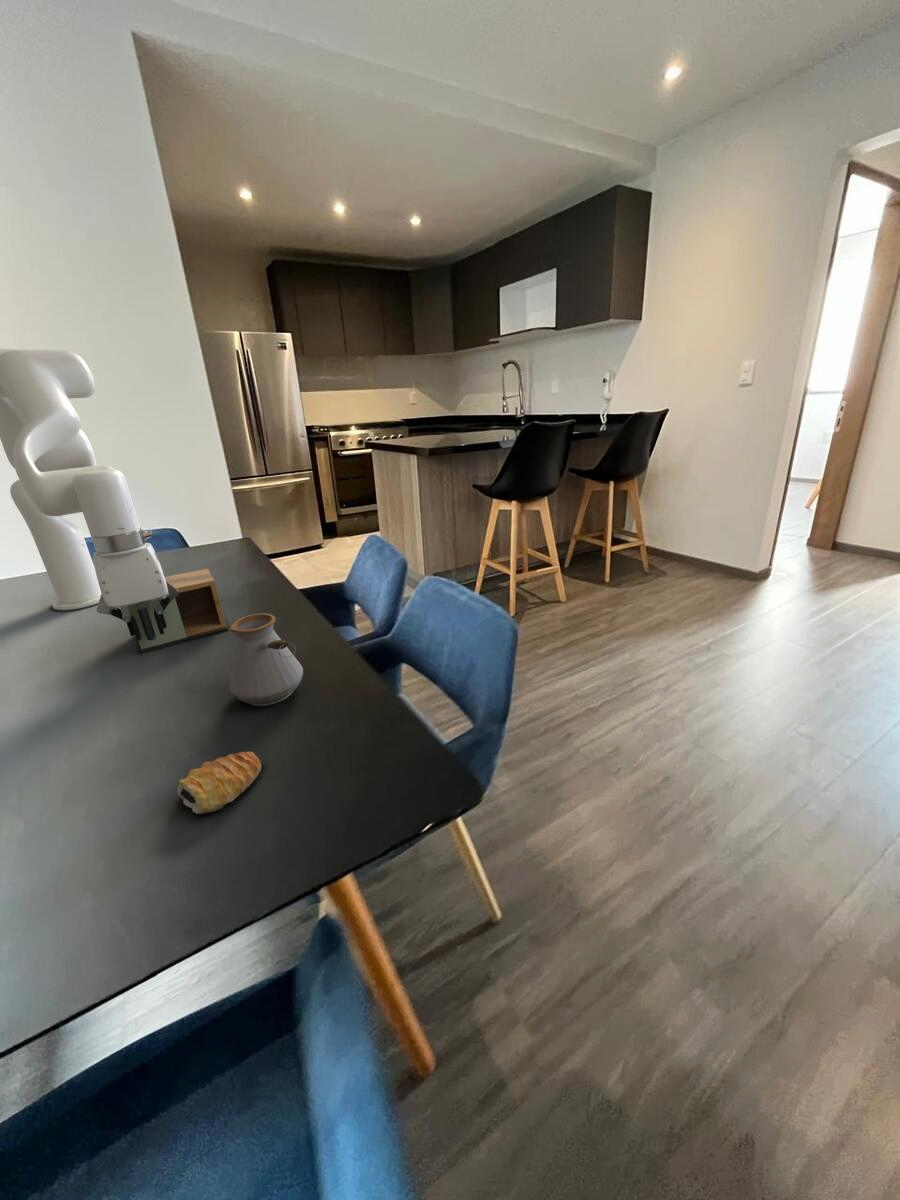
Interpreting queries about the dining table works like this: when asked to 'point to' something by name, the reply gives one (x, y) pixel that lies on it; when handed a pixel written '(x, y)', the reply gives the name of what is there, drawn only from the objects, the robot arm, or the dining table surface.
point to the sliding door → (149, 626)
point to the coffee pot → (262, 663)
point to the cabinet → (196, 606)
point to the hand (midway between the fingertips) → (150, 634)
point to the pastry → (218, 781)
